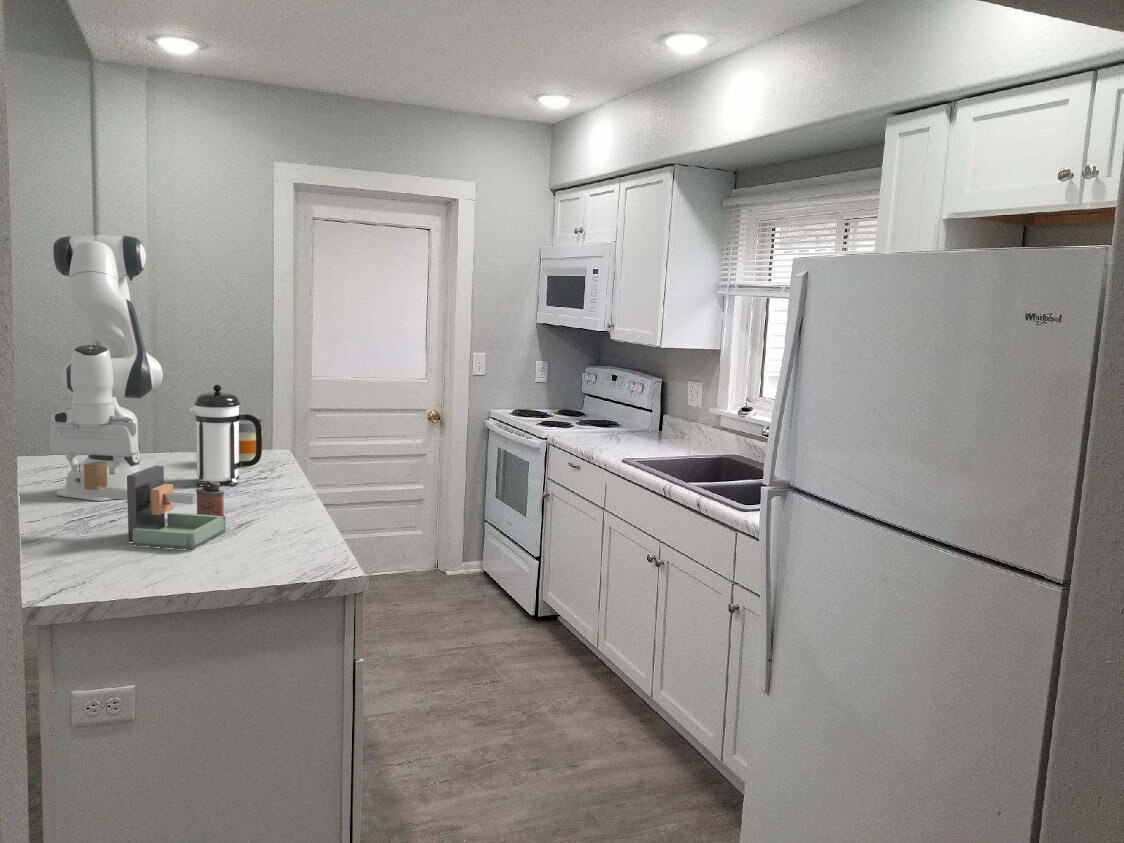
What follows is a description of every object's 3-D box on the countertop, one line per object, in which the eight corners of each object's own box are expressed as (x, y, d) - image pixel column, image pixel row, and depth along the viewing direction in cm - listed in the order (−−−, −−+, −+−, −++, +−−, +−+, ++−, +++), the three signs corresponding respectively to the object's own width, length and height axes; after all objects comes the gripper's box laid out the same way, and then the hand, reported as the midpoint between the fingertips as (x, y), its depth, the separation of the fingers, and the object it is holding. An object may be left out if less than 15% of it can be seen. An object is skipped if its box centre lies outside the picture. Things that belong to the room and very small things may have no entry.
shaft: (85, 497, 206) (84, 464, 205) (95, 493, 210) (94, 461, 209) (190, 505, 204) (190, 471, 203) (199, 501, 208) (198, 468, 207)
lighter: (227, 518, 227) (227, 481, 225) (218, 521, 224) (218, 483, 222) (202, 514, 229) (202, 477, 228) (193, 517, 226) (192, 480, 225)
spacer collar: (151, 514, 204) (151, 489, 203) (165, 508, 210) (165, 483, 209) (159, 515, 204) (159, 489, 203) (173, 508, 210) (173, 484, 209)
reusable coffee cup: (256, 470, 285) (256, 424, 283) (217, 468, 285) (217, 422, 283) (269, 462, 297) (269, 419, 295) (232, 460, 298) (232, 417, 295)
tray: (133, 546, 200) (132, 529, 200) (170, 528, 216) (170, 512, 215) (192, 550, 199) (192, 534, 198) (225, 532, 215) (225, 516, 214)
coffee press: (215, 491, 255) (214, 389, 250) (181, 482, 263) (179, 383, 259) (263, 481, 269) (263, 385, 265) (230, 474, 278) (229, 380, 273)
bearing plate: (128, 543, 202) (126, 475, 200) (157, 529, 214) (155, 465, 212) (136, 543, 202) (135, 476, 200) (164, 530, 214) (163, 466, 212)
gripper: (143, 415, 207) (144, 472, 209) (62, 411, 209) (64, 468, 211) (127, 419, 201) (129, 478, 203) (44, 414, 203) (46, 473, 205)
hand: (95, 472), depth 207 cm, fingers open, 8 cm apart
